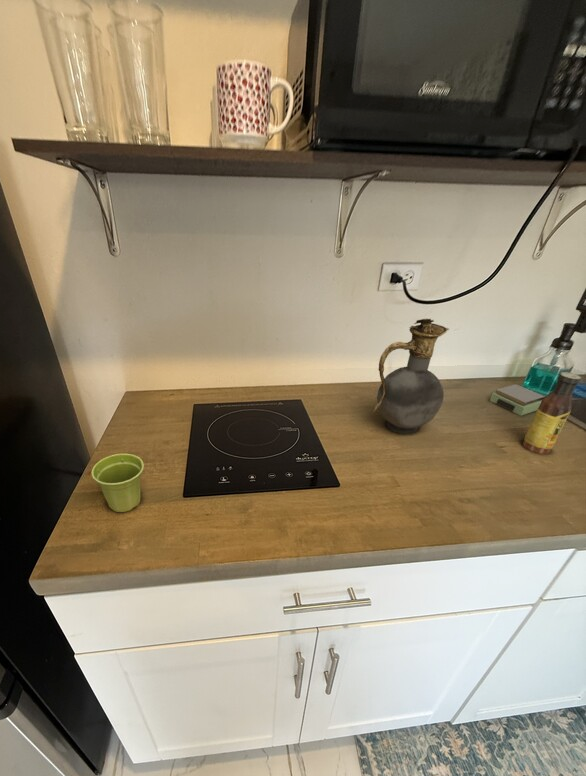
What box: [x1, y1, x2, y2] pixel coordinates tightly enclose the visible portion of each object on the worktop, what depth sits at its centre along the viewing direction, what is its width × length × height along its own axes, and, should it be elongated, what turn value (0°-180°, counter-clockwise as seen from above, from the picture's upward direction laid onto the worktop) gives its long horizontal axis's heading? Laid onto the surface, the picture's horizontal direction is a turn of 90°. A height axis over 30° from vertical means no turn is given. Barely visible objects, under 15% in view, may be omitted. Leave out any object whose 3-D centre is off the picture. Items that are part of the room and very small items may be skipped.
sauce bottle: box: [522, 371, 582, 455], centre depth 93 cm, size 7×6×20 cm
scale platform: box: [494, 383, 546, 405], centre depth 116 cm, size 9×9×1 cm
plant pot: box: [91, 453, 145, 513], centre depth 76 cm, size 9×9×9 cm
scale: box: [489, 392, 542, 416], centre depth 117 cm, size 10×10×3 cm
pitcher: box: [372, 318, 450, 435], centre depth 96 cm, size 11×19×30 cm, turn 108°
